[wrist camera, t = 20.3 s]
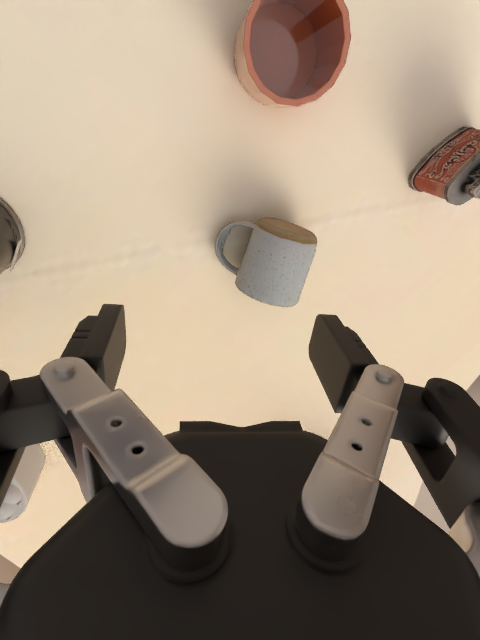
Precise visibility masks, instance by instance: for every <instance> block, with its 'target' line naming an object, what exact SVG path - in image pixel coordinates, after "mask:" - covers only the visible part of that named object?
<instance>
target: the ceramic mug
mask: <svg viewBox="0 0 480 640" xmlns="http://www.w3.org/2000/svg"><path fill="white" fill-rule="evenodd" d="M238 225H240V226H246V227H249V228H252V229H253V231H252V234H251V237H250V240H249V243H248V246H247V249H246V252H245V255H244V257H243V260H242V262H241V265H240V269H238V268H236V267H235V266H233V265H232V264H231V263H230V262H229V261H228V260H227V259H226V258H225V256H224V254H223V251H222V250H223V248H222V247H223V245H224V242H225V239H226V237H227V235H228V234H230V229H231V228H232V227H234V226H238ZM316 246H317V238H316V236H315V235H314V234H313V233H312V232H311V231H309V230H307V229H305V228H303V227H300V226H298V225H295V224H292V223H289V222H286V221H282V220H278V219H273V218H263V219H261V220H259V221H258V222H257V224H254V223H252V222H249V221H235V222H232V223H230V224H228V225H226V226H225V227H224V228H223V229H222V230H221V231H220V233H219V235H218V237H217V240H216V245H215V250H216V254H217V257H218V259H219V261H220V262H221V263H222V265H224V266H225V267H226V268H227V269H228V270H229V271H231V272H232V273H234V274H236V276H237V277H236V281H235V284H236V286H237V288H238V289H239V290H240V291H242V292H243V293H244V294H246V295H247V296H249V297H251V298H253V299H255V300H257V301H260V302H262V303H265V304H269V305H273V306H280V307H291V306H294V305H296V304H297V303H298V301H299V298H300V295H301V292H302V289H303V286H304V283H305V280H306V277H307V274H308V271H309V268H310V265H311V263H312V260H313V257H314V254H315V251H316Z"/></svg>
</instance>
